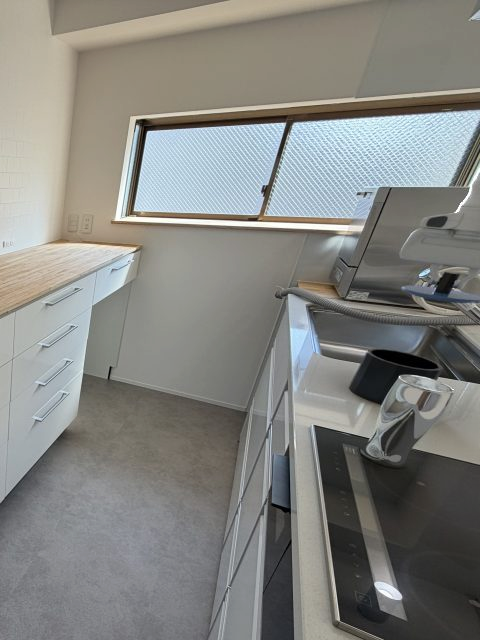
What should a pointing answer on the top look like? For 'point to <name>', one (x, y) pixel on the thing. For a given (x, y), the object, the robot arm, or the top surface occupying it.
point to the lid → (443, 291)
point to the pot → (389, 372)
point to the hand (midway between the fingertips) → (444, 286)
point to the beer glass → (406, 418)
